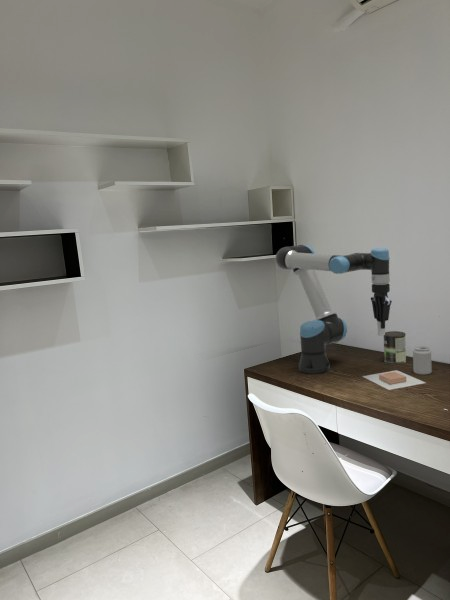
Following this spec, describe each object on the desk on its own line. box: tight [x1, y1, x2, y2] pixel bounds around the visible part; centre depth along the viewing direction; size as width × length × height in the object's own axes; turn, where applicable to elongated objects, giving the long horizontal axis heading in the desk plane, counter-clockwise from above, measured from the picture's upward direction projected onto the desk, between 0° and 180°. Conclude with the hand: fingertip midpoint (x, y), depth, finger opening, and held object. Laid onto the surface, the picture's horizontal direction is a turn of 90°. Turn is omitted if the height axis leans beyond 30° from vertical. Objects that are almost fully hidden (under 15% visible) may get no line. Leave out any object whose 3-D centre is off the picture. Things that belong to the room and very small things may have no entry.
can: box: [412, 345, 433, 375], centre depth 207 cm, size 8×8×12 cm
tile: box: [379, 371, 407, 384], centre depth 199 cm, size 2×8×8 cm
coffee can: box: [383, 330, 407, 364], centre depth 227 cm, size 10×10×14 cm
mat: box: [362, 369, 426, 391], centre depth 201 cm, size 20×18×1 cm
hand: (381, 335), depth 208 cm, fingers closed
